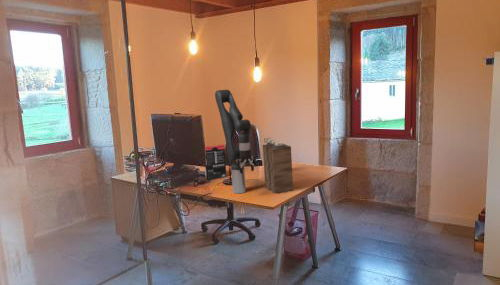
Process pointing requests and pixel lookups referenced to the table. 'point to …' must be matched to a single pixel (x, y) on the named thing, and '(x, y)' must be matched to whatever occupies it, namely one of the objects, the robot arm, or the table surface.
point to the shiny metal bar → (272, 141)
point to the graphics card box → (215, 162)
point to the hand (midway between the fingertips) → (247, 172)
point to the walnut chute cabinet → (278, 167)
